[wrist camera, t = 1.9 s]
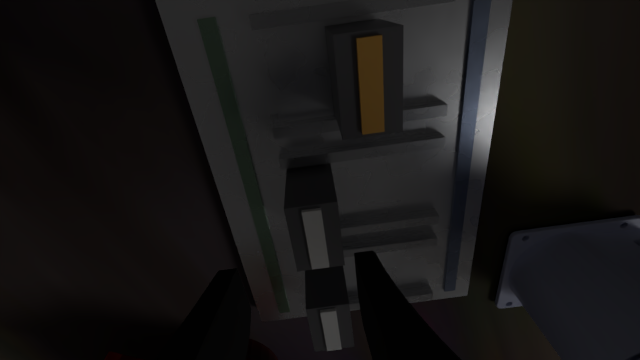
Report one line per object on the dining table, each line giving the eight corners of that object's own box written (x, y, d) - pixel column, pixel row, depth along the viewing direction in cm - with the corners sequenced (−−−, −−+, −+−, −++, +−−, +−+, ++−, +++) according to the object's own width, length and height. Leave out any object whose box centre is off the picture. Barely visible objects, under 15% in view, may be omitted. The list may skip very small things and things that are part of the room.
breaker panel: (505, -50, 15) (532, -56, 13) (460, 283, 26) (472, 304, 24) (164, -2, 15) (147, -2, 13) (263, 309, 26) (260, 331, 24)
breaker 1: (330, 162, 18) (337, 204, 15) (337, 219, 20) (345, 268, 17) (286, 168, 18) (283, 211, 15) (297, 224, 20) (297, 274, 17)
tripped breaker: (379, 18, 15) (405, 25, 11) (381, 104, 17) (404, 133, 13) (325, 26, 15) (333, 35, 11) (333, 110, 17) (343, 141, 13)
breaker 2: (341, 254, 22) (349, 306, 18) (346, 295, 24) (354, 349, 20) (304, 259, 22) (305, 312, 18) (312, 299, 24) (314, 354, 20)
